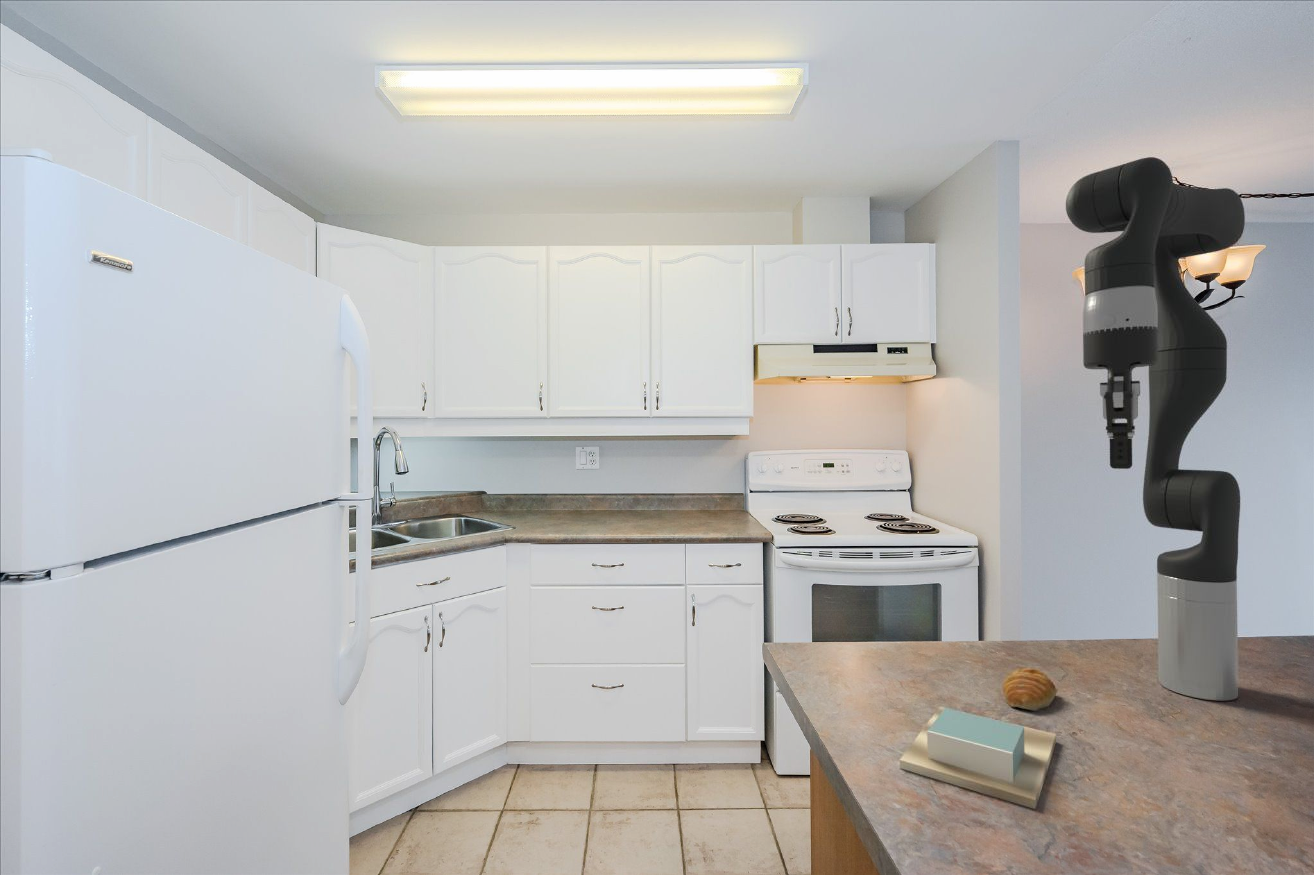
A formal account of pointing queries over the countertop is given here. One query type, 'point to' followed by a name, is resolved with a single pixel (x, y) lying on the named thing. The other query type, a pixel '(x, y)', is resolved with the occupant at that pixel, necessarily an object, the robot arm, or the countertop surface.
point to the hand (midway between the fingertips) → (1121, 468)
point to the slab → (976, 744)
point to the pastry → (1029, 689)
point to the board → (1018, 791)
